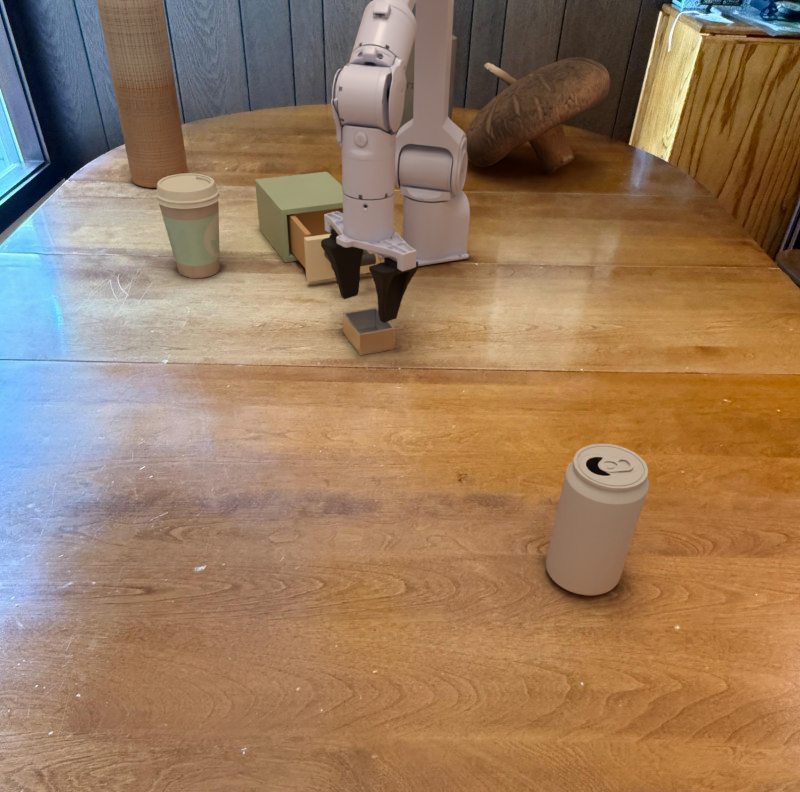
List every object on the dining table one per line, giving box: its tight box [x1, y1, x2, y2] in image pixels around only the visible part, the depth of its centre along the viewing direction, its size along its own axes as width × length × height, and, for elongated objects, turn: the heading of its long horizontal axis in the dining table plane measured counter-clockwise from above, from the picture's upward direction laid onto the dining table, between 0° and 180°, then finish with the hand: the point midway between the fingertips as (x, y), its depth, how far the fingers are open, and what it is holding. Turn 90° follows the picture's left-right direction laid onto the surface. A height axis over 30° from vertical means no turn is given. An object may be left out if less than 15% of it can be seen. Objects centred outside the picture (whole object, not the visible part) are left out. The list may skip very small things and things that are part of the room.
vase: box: [96, 0, 189, 189], centre depth 129 cm, size 10×10×28 cm
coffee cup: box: [155, 172, 222, 279], centre depth 107 cm, size 8×8×12 cm
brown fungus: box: [465, 56, 611, 174], centre depth 143 cm, size 28×23×25 cm
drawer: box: [287, 208, 379, 283], centre depth 109 cm, size 17×10×6 cm, turn 23°
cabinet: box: [254, 171, 343, 263], centre depth 117 cm, size 14×12×8 cm
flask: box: [396, 34, 458, 135], centre depth 158 cm, size 15×6×20 cm, turn 92°
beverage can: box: [545, 443, 650, 596], centre depth 63 cm, size 6×6×12 cm
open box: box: [342, 306, 396, 356], centre depth 96 cm, size 5×6×3 cm
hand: (368, 307), depth 94 cm, fingers open, 7 cm apart
